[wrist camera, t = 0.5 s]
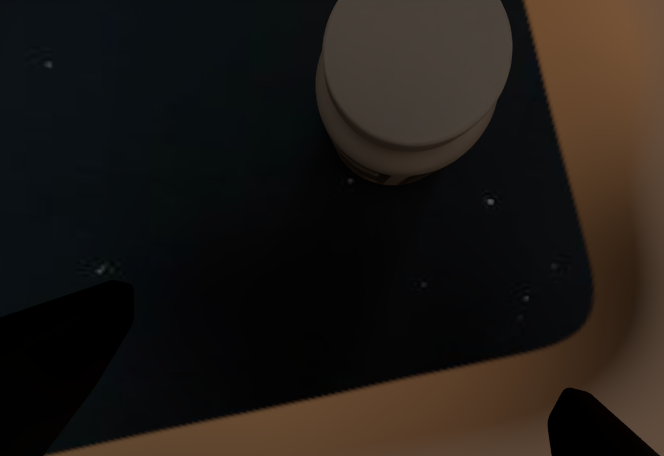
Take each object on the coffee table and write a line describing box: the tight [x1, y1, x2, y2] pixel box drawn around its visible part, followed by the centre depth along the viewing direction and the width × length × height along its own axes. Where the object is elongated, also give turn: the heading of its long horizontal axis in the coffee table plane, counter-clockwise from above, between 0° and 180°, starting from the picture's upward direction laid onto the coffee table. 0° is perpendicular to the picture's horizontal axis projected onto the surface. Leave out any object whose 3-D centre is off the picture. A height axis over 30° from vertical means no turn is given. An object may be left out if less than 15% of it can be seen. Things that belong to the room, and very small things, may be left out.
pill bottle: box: [316, 0, 512, 185], centre depth 16 cm, size 6×6×10 cm
